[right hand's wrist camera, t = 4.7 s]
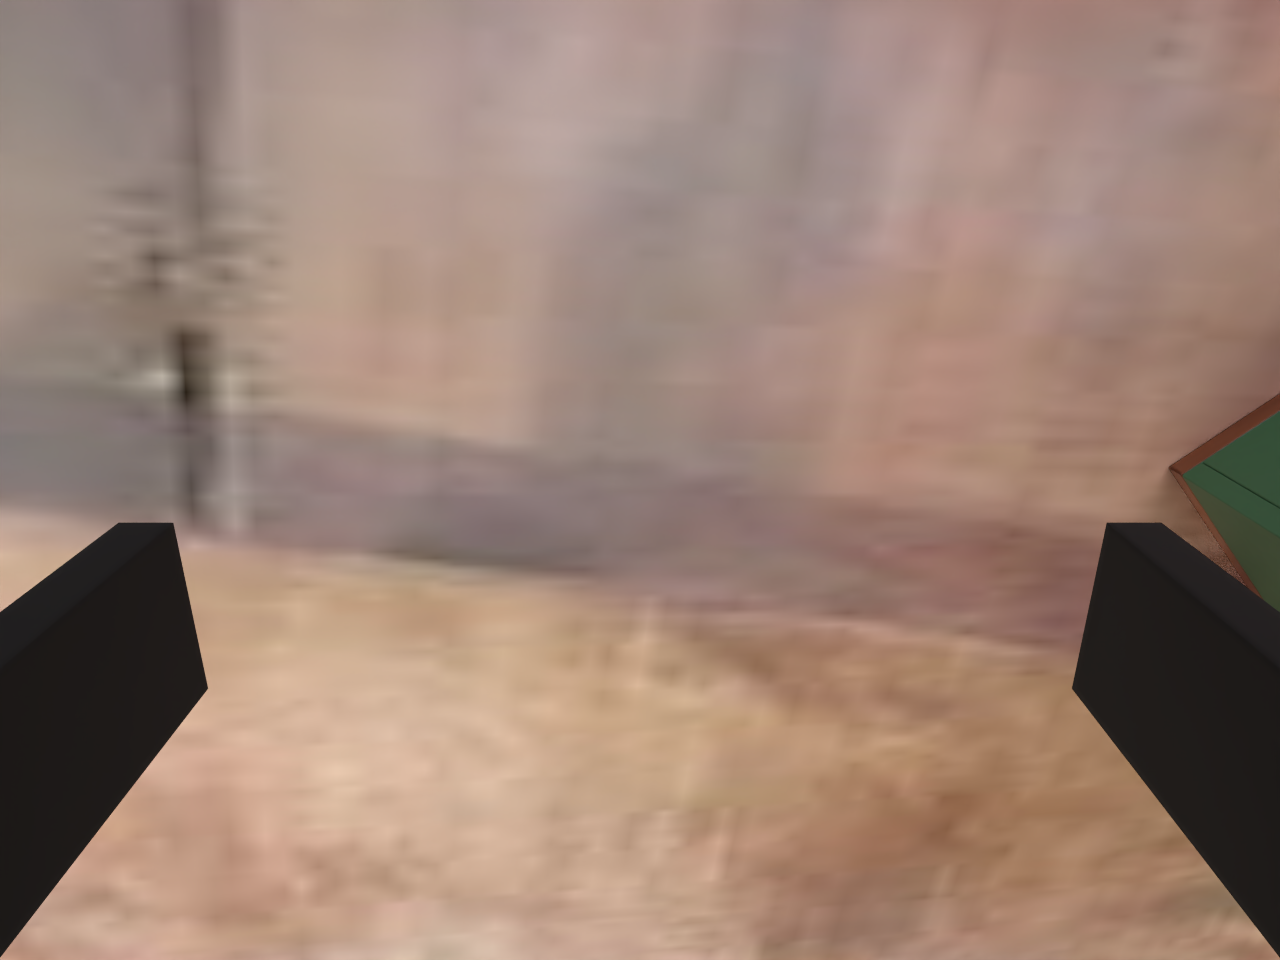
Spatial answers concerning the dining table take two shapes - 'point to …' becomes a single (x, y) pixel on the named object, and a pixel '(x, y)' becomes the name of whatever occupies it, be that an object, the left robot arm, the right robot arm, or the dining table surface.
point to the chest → (1242, 495)
